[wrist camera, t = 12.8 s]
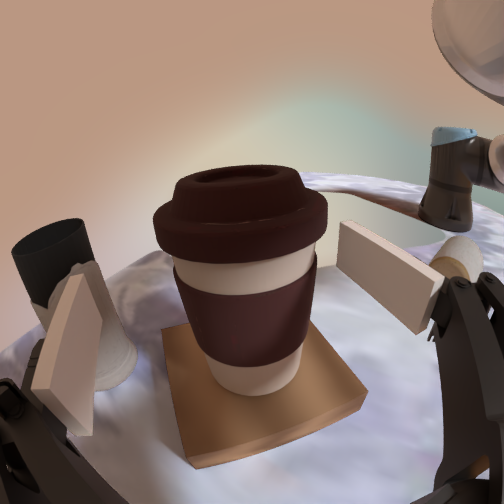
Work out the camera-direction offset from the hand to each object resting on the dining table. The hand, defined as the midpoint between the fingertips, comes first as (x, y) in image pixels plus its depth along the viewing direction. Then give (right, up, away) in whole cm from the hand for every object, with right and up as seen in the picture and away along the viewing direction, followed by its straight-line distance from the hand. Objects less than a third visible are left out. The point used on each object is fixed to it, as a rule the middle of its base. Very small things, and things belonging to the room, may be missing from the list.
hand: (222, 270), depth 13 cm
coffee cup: (+2, -8, +8) cm, 12 cm away
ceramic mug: (+30, -6, +17) cm, 35 cm away
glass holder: (-18, -11, +13) cm, 24 cm away
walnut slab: (+1, -11, +10) cm, 15 cm away
